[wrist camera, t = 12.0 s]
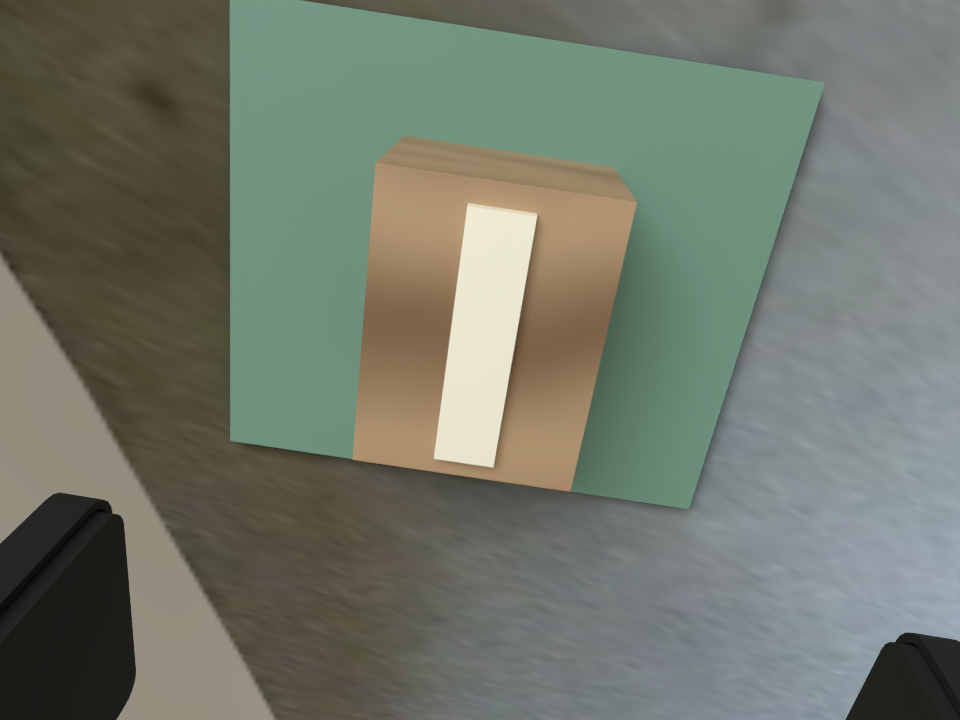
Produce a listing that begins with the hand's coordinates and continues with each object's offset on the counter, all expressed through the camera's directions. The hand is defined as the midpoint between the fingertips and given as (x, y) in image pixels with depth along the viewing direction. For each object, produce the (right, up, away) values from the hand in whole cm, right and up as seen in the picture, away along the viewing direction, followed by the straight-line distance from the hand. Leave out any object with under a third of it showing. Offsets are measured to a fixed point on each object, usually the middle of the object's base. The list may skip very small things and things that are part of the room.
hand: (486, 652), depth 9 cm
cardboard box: (0, +6, +13) cm, 15 cm away
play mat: (0, +6, +14) cm, 15 cm away
